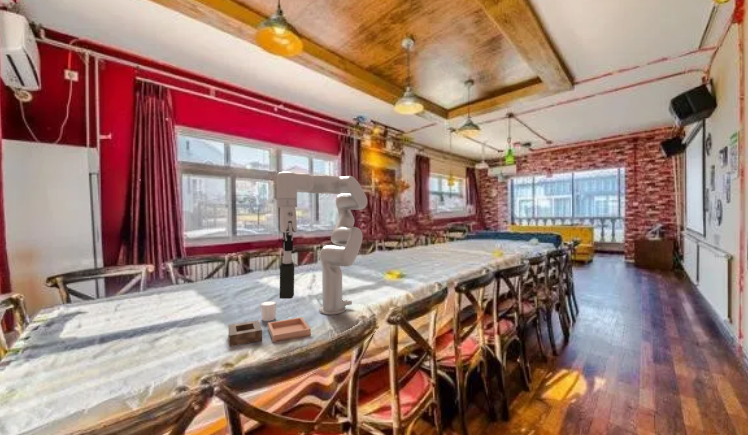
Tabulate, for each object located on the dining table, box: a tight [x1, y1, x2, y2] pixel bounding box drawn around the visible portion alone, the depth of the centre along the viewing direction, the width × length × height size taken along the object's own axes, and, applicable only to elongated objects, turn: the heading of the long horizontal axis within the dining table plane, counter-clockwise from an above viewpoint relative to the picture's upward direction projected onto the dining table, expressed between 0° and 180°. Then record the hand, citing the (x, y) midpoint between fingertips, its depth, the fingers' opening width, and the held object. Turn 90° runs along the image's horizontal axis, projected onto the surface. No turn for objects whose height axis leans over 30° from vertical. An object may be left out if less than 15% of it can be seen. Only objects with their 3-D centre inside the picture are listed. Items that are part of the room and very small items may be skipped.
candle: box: [279, 250, 295, 300], centre depth 122 cm, size 5×5×25 cm
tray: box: [267, 316, 312, 343], centre depth 123 cm, size 14×14×2 cm
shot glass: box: [260, 300, 277, 322], centre depth 138 cm, size 7×7×7 cm
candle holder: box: [228, 319, 263, 347], centre depth 117 cm, size 11×11×4 cm
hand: (287, 249), depth 122 cm, fingers closed on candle, 2 cm apart
